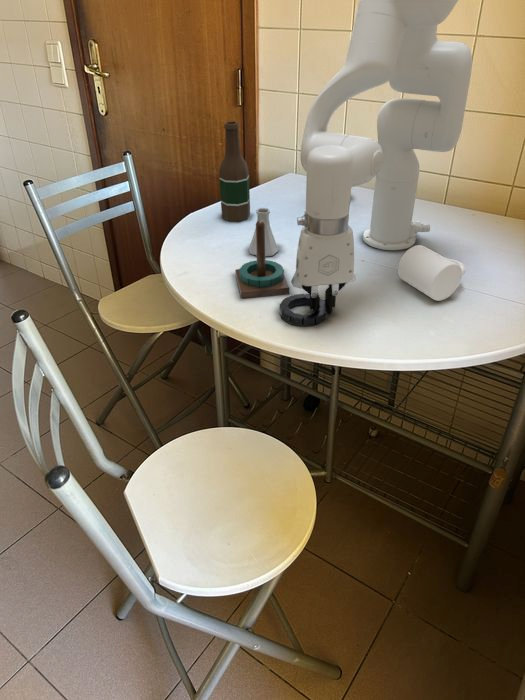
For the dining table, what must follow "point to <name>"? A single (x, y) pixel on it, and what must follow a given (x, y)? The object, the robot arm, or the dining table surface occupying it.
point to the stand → (261, 271)
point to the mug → (430, 272)
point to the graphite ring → (299, 318)
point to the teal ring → (261, 281)
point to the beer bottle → (234, 178)
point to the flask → (269, 238)
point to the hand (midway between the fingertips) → (321, 310)
